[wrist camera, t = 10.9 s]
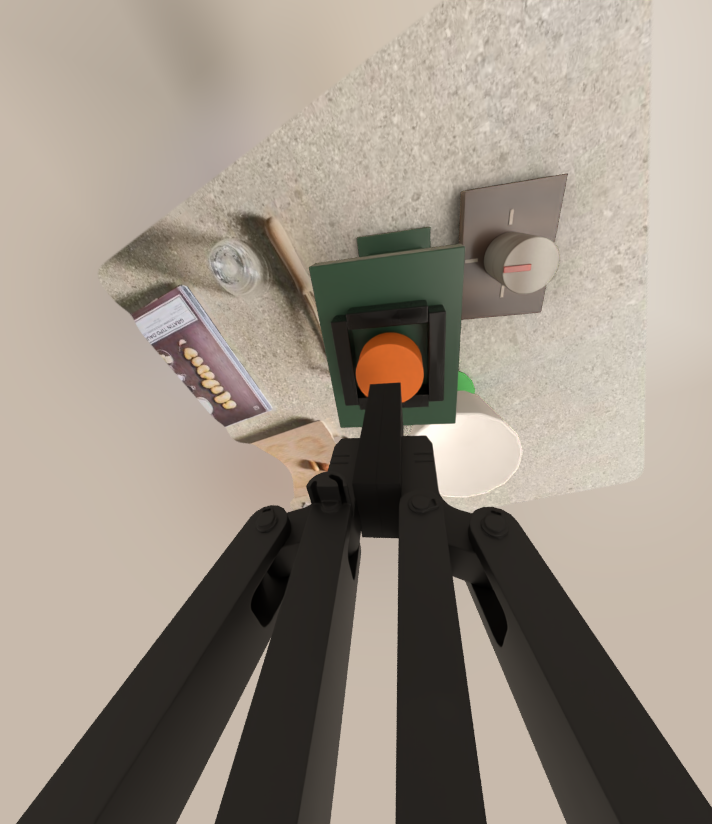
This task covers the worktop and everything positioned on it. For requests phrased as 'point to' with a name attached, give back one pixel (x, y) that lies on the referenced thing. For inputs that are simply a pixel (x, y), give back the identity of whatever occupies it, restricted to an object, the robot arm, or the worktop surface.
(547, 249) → the dial
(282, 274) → the worktop surface
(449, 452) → the cup
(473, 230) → the dial panel
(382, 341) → the button
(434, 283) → the control post
